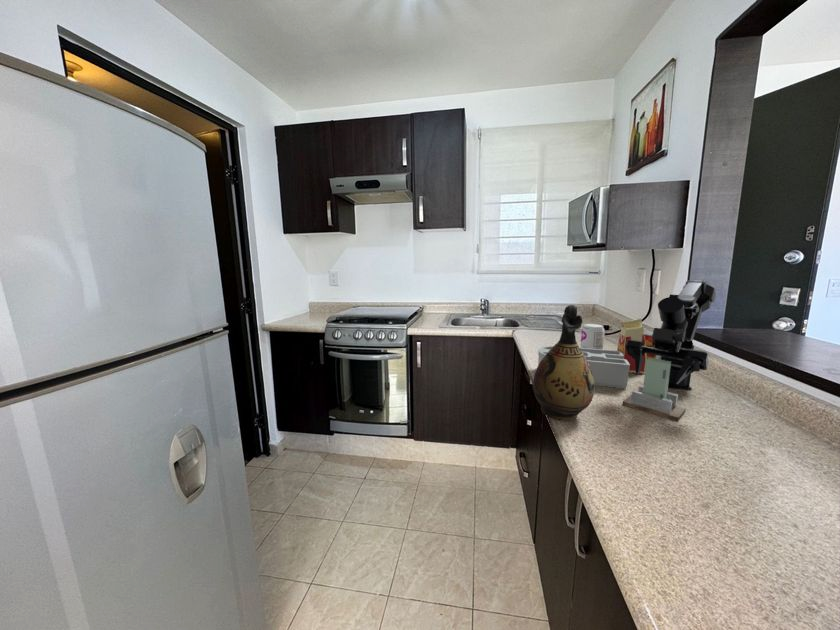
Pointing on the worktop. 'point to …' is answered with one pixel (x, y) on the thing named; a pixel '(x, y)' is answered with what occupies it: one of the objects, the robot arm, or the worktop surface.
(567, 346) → the ceramic jug
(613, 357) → the gray compartment organizer
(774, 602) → the worktop surface
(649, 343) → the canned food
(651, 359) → the door panel
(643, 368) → the milk carton
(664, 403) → the slotted panel holder
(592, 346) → the supplement can
